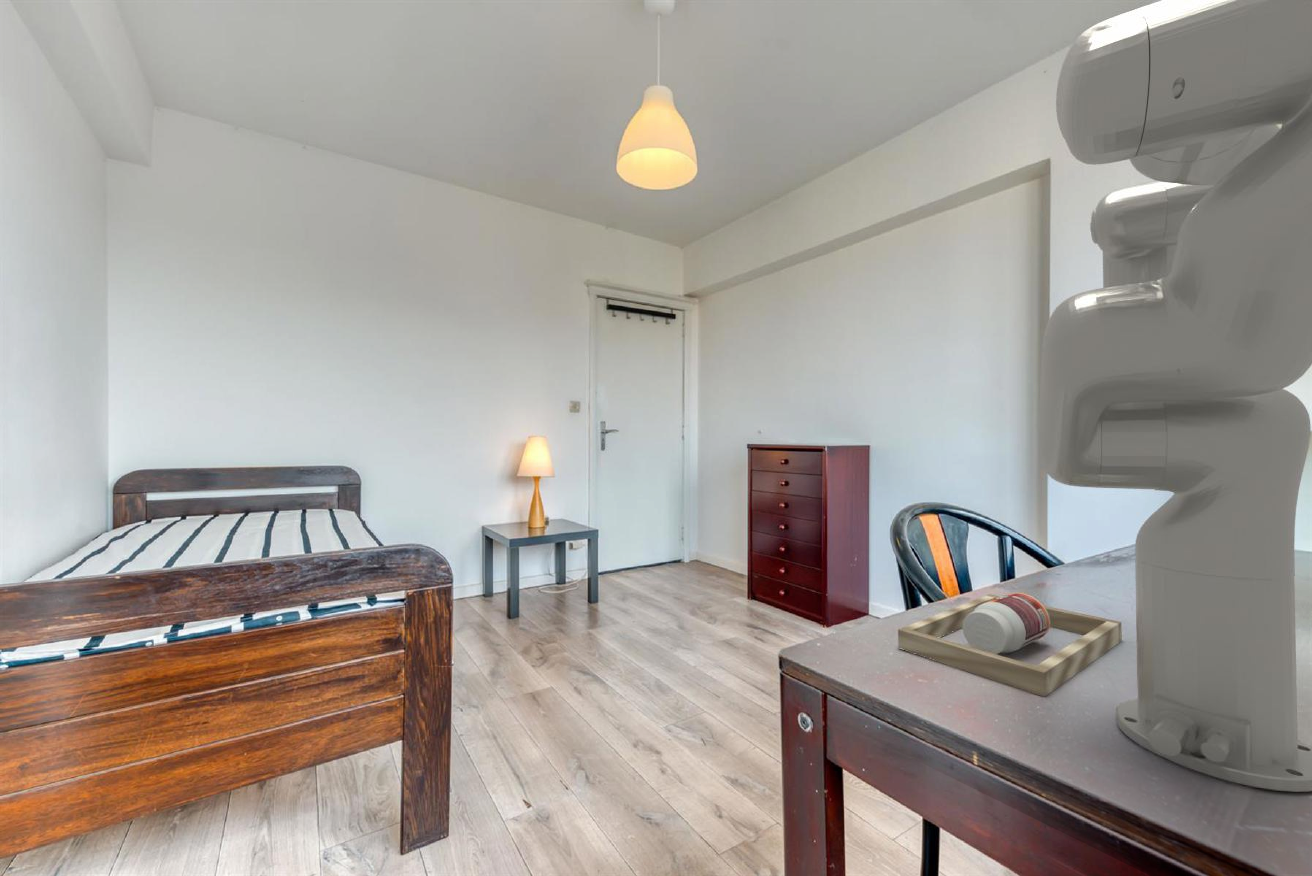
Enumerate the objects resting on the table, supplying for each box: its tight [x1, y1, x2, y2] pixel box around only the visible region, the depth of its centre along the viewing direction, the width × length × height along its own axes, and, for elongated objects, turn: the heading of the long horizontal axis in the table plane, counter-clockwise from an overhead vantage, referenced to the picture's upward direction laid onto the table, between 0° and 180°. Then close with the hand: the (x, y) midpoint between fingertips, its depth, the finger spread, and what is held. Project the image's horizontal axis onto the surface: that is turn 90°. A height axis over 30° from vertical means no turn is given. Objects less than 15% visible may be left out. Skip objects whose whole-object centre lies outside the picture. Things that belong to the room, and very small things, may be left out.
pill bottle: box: [962, 592, 1051, 655], centre depth 68 cm, size 6×6×11 cm
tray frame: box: [897, 594, 1123, 698], centre depth 69 cm, size 26×16×2 cm, turn 125°
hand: (1143, 447), depth 68 cm, fingers closed
